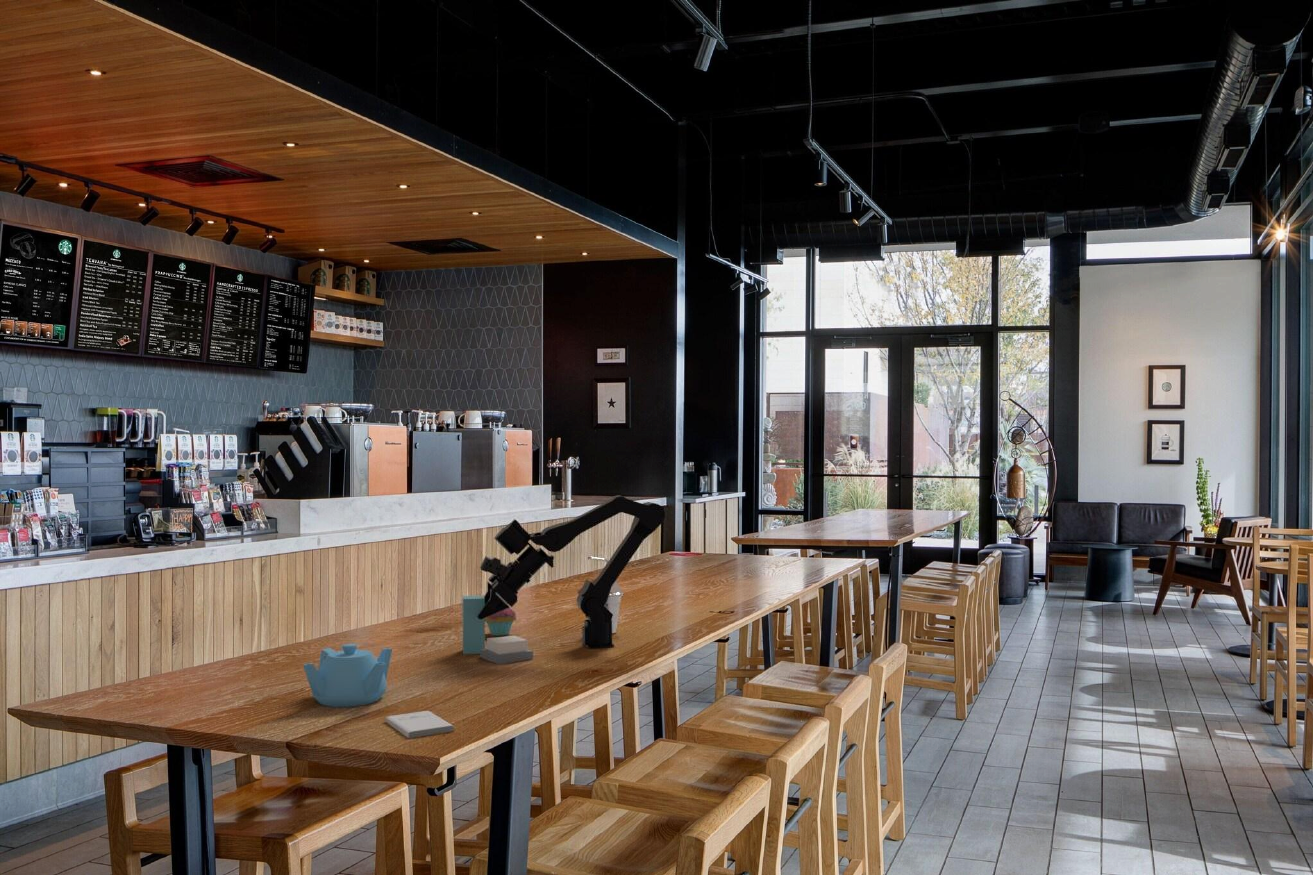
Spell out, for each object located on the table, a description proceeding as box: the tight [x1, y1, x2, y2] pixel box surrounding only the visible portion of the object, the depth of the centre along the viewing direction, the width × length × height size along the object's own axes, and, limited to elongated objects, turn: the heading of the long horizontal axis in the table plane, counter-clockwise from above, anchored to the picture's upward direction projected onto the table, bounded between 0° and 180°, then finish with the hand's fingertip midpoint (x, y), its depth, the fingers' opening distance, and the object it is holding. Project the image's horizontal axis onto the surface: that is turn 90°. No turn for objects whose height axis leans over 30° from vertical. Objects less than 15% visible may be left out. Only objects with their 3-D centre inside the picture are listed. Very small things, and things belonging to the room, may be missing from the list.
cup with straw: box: [587, 556, 624, 634], centre depth 279 cm, size 8×9×20 cm
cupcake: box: [485, 608, 517, 637], centre depth 277 cm, size 9×8×12 cm
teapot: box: [302, 643, 393, 708], centre depth 208 cm, size 15×15×11 cm
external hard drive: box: [385, 710, 455, 739], centre depth 188 cm, size 2×8×12 cm
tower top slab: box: [486, 635, 528, 654], centre depth 246 cm, size 7×7×2 cm
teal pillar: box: [461, 594, 486, 655], centre depth 254 cm, size 5×5×13 cm
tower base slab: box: [479, 648, 534, 665], centre depth 246 cm, size 9×9×2 cm
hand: (477, 615), depth 254 cm, fingers open, 9 cm apart
